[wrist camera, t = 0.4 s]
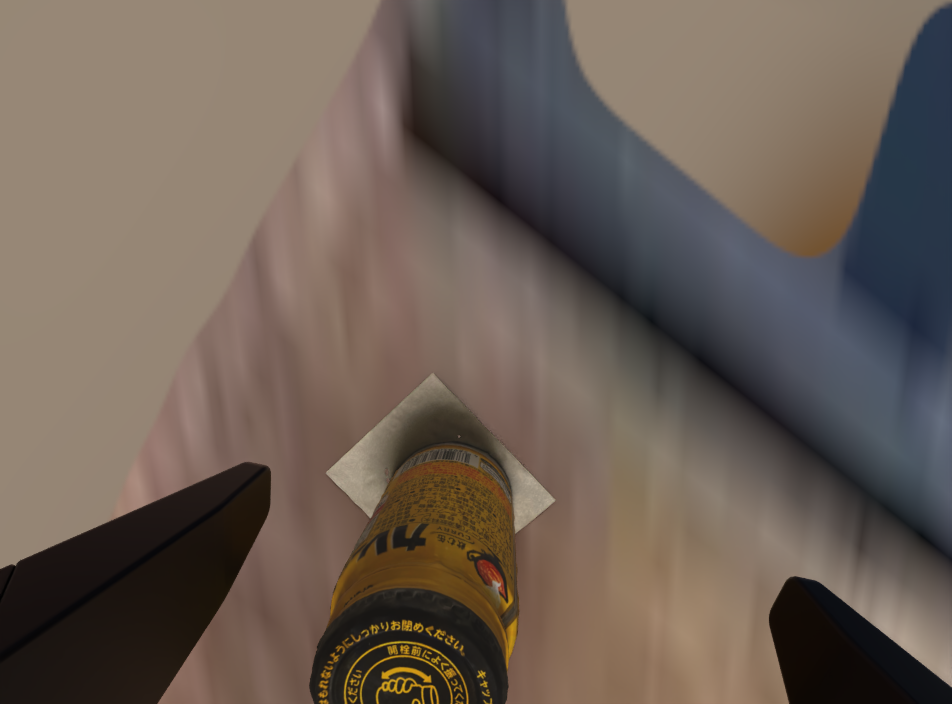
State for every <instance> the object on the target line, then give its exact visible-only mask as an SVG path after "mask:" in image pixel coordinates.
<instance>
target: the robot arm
mask: <svg viewBox="0 0 952 704" xmlns="http://www.w3.org/2000/svg"><path fill="white" fill-rule="evenodd" d="M270 495H271V471H270V468H269V467H268V466H266V465H261V464H257V463H252V462H244V463H241V464H239V465H237V466H235V467H232V468H230V469H228V470H225V471H223V472H221V473H219V474H216V475H214V476H212V477H209V478H207V479H205V480H203V481H200V482H198V483H196V484H194V485H191V486H189V487H187V488H184V489H182V490H180V491H178V492H175V493H173V494H171V495H168V496H166V497H164V498H162V499H159V500H157V501H155V502H153V503H150V504H148V505H146V506H143V507H141V508H139V509H137V510H134V511H132V512H130V513H127V514H125V515H123V516H121V517H118V518H116V519H114V520H111V521H109V522H107V523H105V524H102V525H100V526H98V527H96V528H93V529H91V530H89V531H87V532H84V533H82V534H80V535H77V536H75V537H73V538H70V539H68V540H66V541H64V542H62V543H59V544H57V545H54V546H52V547H50V548H48V549H46V550H43V551H41V552H38V553H36V554H34V555H32V556H29V557H27V558H25V559H23V560H20V561H19V562H18V563H17V565H16V566H15V565H12V564H11V565H9V566H6V567H4V568H2V569H0V704H157V703H158V702H159V700H160V699H161V697H162V696H163V694H164V693H165V691H166V690H167V688H168V686H169V685H170V683H171V682H172V680H173V679H174V677H175V676H176V674H177V673H178V671H179V670H180V668H181V666H182V665H183V663H184V662H185V660H186V659H187V657H188V656H189V654H190V653H191V651H192V649H193V648H194V646H195V645H196V643H197V642H198V640H199V639H200V637H201V636H202V634H203V632H204V631H205V629H206V628H207V626H208V625H209V623H210V622H211V620H212V619H213V617H214V616H215V614H216V612H217V611H218V609H219V608H220V606H221V604H222V603H223V601H224V599H225V598H226V596H227V594H228V592H229V590H230V588H231V587H232V585H233V583H234V581H235V579H236V577H237V575H238V573H239V571H240V569H241V567H242V565H243V563H244V561H245V559H246V557H247V555H248V553H249V551H250V549H251V547H252V545H253V543H254V542H255V540H256V538H257V536H258V534H259V532H260V530H261V528H262V526H263V524H264V522H265V520H266V518H267V515H268V512H269V509H270ZM769 625H770V630H771V634H772V638H773V642H774V645H775V649H776V653H777V657H778V661H779V665H780V669H781V673H782V677H783V681H784V685H785V689H786V693H787V697H788V701H789V704H952V687H950V686H949V685H948V684H947V683H945V682H944V681H943V680H942V679H940V678H939V677H938V676H937V675H935V674H934V673H933V672H932V671H930V670H929V669H928V668H927V667H925V666H924V665H923V664H922V663H920V662H919V661H918V660H916V659H915V658H914V657H913V656H911V655H910V654H909V653H908V652H906V651H905V650H904V649H903V648H901V647H900V646H899V645H898V644H896V643H895V642H894V641H893V640H891V639H890V638H889V637H888V636H886V635H885V634H884V633H883V632H881V631H880V630H879V629H878V628H876V627H875V626H874V625H872V624H871V623H870V622H869V621H867V620H866V619H865V618H864V617H862V616H861V615H860V614H859V613H857V612H856V611H855V610H854V609H852V608H851V607H850V606H849V605H847V604H846V603H845V602H844V601H842V600H841V599H840V598H839V597H837V596H836V595H835V594H833V593H832V592H831V591H830V590H828V589H827V588H826V587H825V586H823V585H822V584H821V583H819V582H817V581H815V580H810V579H806V578H801V577H796V576H794V577H790V578H789V579H787V580H786V582H785V584H784V585H783V587H782V589H781V591H780V593H779V595H778V597H777V598H776V600H775V602H774V604H773V606H772V608H771V610H770V614H769Z"/></svg>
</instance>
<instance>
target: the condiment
mask: <svg viewBox="0 0 952 704" xmlns="http://www.w3.org/2000/svg"><path fill="white" fill-rule="evenodd" d="M458 435H460V436H461V437H460V438H458ZM385 469H388V475H385ZM326 474H327V475H328V476H329V477H330V478H331V479H332V480H333V481H334V482H335V483H336V485H338V486H339V487H340V488H341V489H342V490H343V491H344V492H345V493H346V494H347V495H348V496H349V497H350V498H351V499H352V501H353V502H354V503H355V504H357V505H358V506H359V507H360V508H361V509H362V510H363V511H364V512H365V513H366V514H367V515H368V516H369V517H370V521H369V522H368V524H367V526H366V528H365V530H364V531H363V533H362V535H361V537H360V539H359V540H358V542H357V543H356V545H355V548H354V550H353V551H352V554H351V556H350V558H349V559H348V561H347V563H346V564H345V566H344V568H343V570H342V572H341V575H340V577H339V579H338V581H337V584H336V586H335V588H334V591H333V597H332V602H331V608H330V610H331V613H330V620H329V623H328V625H327V629H326V631H325V633H324V635H323V636H322V638H321V639H320V641H319V643H318V646H317V651H316V655H315V658H314V663H313V667H312V674H311V678H310V684H309V686H310V692H311V696H312V698H313V701H314V704H505V702H506V700H507V690H508V677H507V670H508V661H509V658H510V656H511V654H512V651H513V647H514V644H515V640H516V637H517V634H518V616H519V596H518V591H517V564H516V548H515V534H516V533H517V532H518V531H519V530H521V529H522V528H523V527H525V526H526V525H527V524H528V523H530V522H531V521H532V520H534V519H535V518H536V517H537V516H538V515H539V514H541V513H542V512H543V511H544V510H545V509H546V508H548V507H549V506H550V505H551V504H552V503H553V502H554V501H556V500H555V499H554V498H553V497H552V496H551V495H550V494H549V493H548V492H547V491H546V490H545V489H544V487H543V486H542V485H541V484H540V483H539V482H538V481H537V480H536V479H535V478H534V477H533V476H532V475H531V474H530V473H529V472H528V471H527V470H526V469H525V468H524V467H523V466H522V464H521V463H520V462H519V461H518V460H517V459H516V458H515V457H514V456H513V455H512V454H511V453H510V452H509V451H508V450H507V449H506V448H505V447H504V446H503V445H502V444H501V443H500V442H499V441H498V440H497V439H496V438H495V437H494V435H493V434H492V433H491V432H489V431H488V430H487V429H486V428H485V427H484V426H483V425H482V424H481V423H480V422H479V420H478V419H477V418H476V417H475V416H474V415H473V414H472V413H471V412H470V411H469V410H468V409H467V408H466V407H465V406H464V404H463V403H462V402H461V401H460V400H459V399H458V398H457V397H456V396H455V395H453V394H452V393H451V392H450V391H449V390H448V389H447V388H446V387H445V385H444V384H443V383H442V382H441V381H440V380H439V379H438V378H437V377H436V376H435V375H434V374H433V373H432V374H431V375H430V376H429V377H428V378H427V379H425V380H424V381H423V382H422V383H421V384H420V385H419V386H418V387H417V388H416V389H415V390H414V391H413V392H412V393H410V394H409V395H408V396H407V397H406V398H405V399H404V400H403V401H402V402H401V403H400V404H399V405H398V406H397V407H395V408H394V409H393V410H392V411H391V412H390V413H389V414H388V415H387V416H386V417H385V418H384V419H383V420H382V421H380V422H379V423H378V424H377V425H376V426H375V427H374V428H373V429H372V430H371V431H370V432H368V433H367V435H366V436H364V437H363V438H362V439H361V440H360V441H359V442H358V443H357V444H356V445H355V446H354V447H353V448H352V449H351V450H350V451H348V452H347V453H346V454H345V455H344V456H343V457H342V458H341V459H340V460H339V461H338V462H337V463H336V464H335V465H334V466H333V467H331V468H330V469H329V470H328V471H327V472H326ZM387 478H389V479H390V481H389V483H387V482H386V479H387Z"/></svg>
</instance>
